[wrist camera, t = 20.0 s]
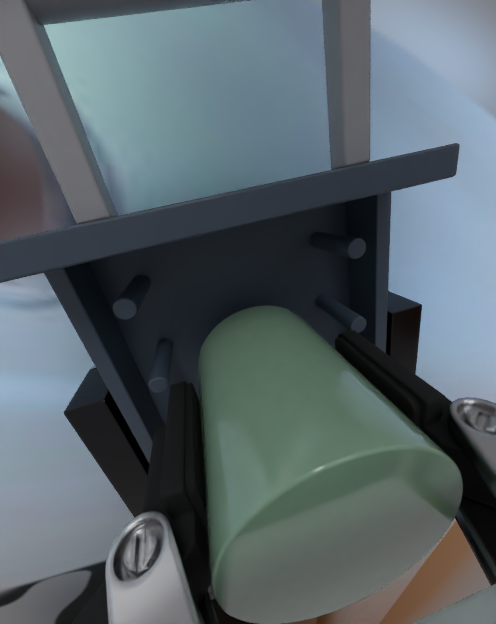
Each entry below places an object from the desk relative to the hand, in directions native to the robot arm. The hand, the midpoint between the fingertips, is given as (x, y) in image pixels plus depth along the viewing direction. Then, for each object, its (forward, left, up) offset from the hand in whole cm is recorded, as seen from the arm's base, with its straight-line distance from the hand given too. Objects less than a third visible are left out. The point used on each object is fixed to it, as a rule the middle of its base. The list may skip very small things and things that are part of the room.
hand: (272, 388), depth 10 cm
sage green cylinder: (0, 0, -2) cm, 2 cm away
